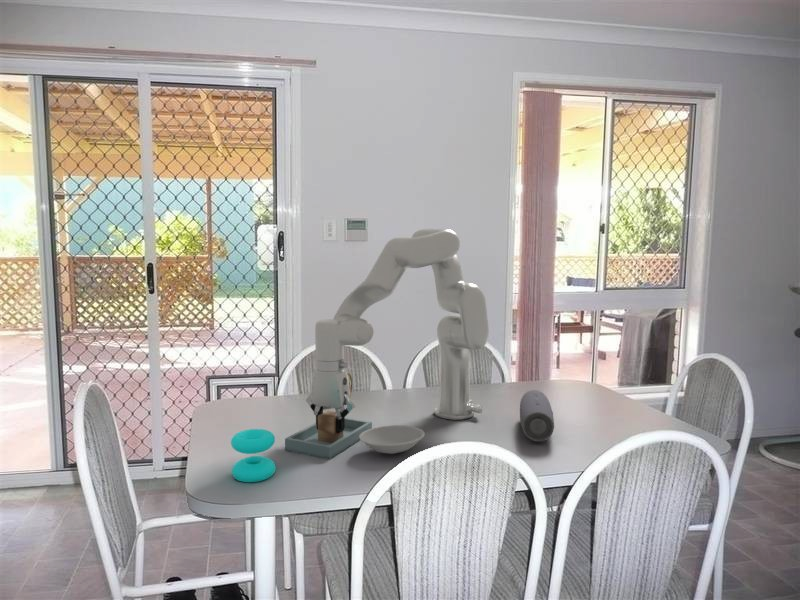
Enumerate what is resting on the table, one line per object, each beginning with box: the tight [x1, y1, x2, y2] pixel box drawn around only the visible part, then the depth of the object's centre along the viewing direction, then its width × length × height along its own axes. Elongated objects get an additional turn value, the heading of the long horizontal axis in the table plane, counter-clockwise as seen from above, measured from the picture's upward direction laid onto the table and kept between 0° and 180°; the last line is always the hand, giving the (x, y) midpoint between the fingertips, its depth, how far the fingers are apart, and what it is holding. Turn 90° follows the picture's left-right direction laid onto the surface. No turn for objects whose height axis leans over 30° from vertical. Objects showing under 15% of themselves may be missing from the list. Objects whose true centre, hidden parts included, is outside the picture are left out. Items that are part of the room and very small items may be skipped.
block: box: [318, 410, 343, 443], centre depth 159 cm, size 5×5×7 cm
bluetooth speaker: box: [519, 389, 555, 442], centre depth 168 cm, size 23×9×10 cm, turn 170°
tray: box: [284, 417, 373, 460], centre depth 160 cm, size 14×22×3 cm, turn 154°
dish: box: [359, 424, 426, 455], centre depth 151 cm, size 18×14×5 cm
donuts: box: [230, 428, 276, 483], centre depth 137 cm, size 10×10×10 cm
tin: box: [347, 372, 353, 397], centre depth 199 cm, size 15×3×8 cm, turn 168°
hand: (330, 429), depth 159 cm, fingers open, 5 cm apart
